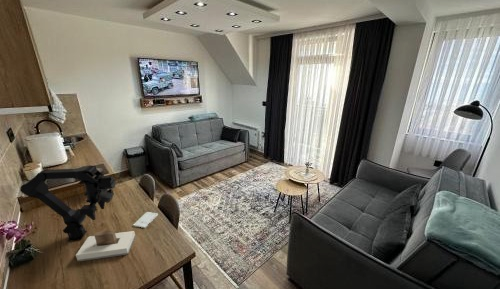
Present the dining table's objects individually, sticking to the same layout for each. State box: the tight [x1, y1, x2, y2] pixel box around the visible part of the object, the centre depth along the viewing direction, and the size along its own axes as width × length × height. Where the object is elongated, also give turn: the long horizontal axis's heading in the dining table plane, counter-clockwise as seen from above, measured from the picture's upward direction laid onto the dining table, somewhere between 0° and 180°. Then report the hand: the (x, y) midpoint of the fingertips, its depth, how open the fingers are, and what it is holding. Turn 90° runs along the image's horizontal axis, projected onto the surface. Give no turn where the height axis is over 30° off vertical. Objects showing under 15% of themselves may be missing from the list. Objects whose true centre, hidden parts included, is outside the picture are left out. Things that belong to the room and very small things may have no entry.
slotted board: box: [75, 230, 136, 262], centre depth 106 cm, size 22×12×4 cm, turn 102°
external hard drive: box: [132, 211, 159, 229], centre depth 127 cm, size 2×8×12 cm
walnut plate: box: [94, 229, 117, 246], centre depth 105 cm, size 8×2×9 cm, turn 102°
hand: (98, 214), depth 112 cm, fingers open, 9 cm apart
